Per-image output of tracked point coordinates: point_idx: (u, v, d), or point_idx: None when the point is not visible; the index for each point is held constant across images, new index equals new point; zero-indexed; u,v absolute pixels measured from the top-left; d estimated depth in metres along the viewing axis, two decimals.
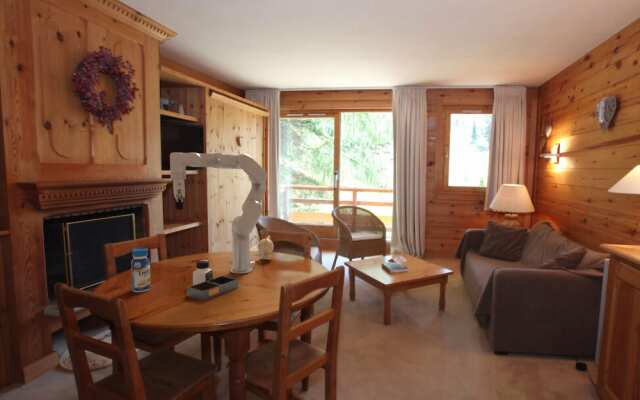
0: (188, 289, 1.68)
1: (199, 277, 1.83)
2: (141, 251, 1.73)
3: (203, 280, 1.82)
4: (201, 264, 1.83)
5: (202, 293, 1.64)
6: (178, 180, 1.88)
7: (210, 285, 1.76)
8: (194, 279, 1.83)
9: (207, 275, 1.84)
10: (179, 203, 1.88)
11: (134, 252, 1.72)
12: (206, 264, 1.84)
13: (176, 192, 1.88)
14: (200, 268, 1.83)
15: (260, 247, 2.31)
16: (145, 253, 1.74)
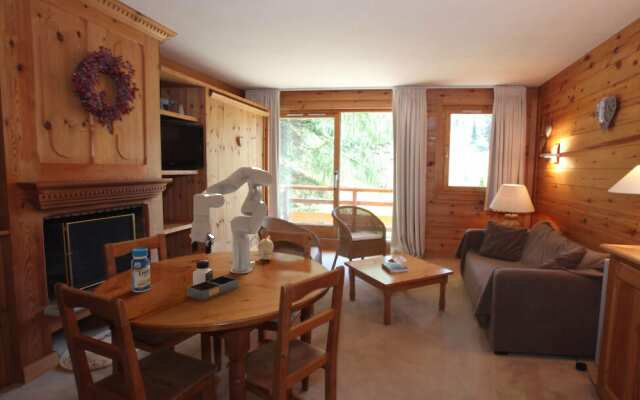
0: (188, 289, 1.68)
1: (199, 276, 1.83)
2: (141, 251, 1.73)
3: (203, 280, 1.82)
4: (201, 264, 1.83)
5: (202, 293, 1.64)
6: None
7: (210, 285, 1.76)
8: (194, 279, 1.83)
9: (207, 275, 1.84)
10: None
11: (134, 252, 1.72)
12: (206, 264, 1.84)
13: None
14: (200, 268, 1.83)
15: (260, 247, 2.31)
16: (145, 253, 1.74)
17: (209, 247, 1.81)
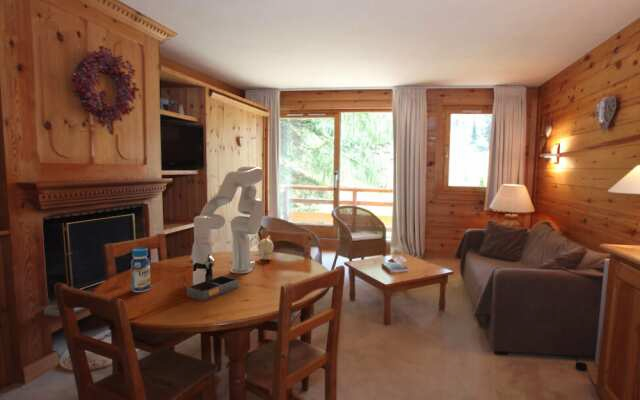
0: (188, 289, 1.68)
1: (199, 277, 1.83)
2: (141, 251, 1.73)
3: (203, 280, 1.82)
4: (201, 264, 1.83)
5: (202, 293, 1.64)
6: None
7: (210, 285, 1.76)
8: (194, 279, 1.83)
9: None
10: None
11: (134, 252, 1.72)
12: None
13: None
14: (200, 268, 1.83)
15: (260, 247, 2.31)
16: (145, 253, 1.74)
17: (210, 269, 1.83)
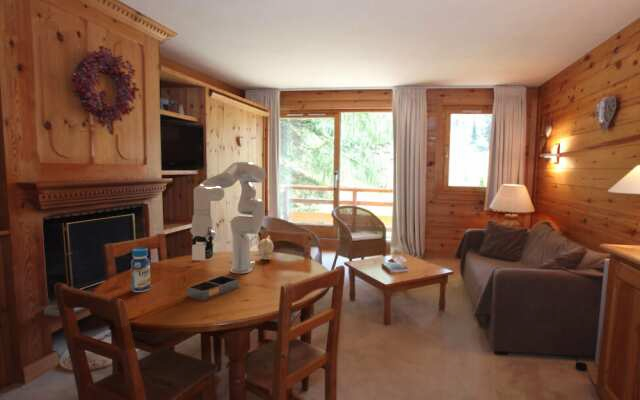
0: (188, 289, 1.68)
1: (198, 250, 1.73)
2: (141, 251, 1.73)
3: (203, 254, 1.73)
4: (201, 237, 1.73)
5: (202, 293, 1.64)
6: None
7: (210, 285, 1.76)
8: (193, 253, 1.74)
9: None
10: None
11: (134, 252, 1.72)
12: None
13: None
14: (200, 241, 1.73)
15: (260, 247, 2.31)
16: (145, 253, 1.74)
17: (210, 242, 1.73)
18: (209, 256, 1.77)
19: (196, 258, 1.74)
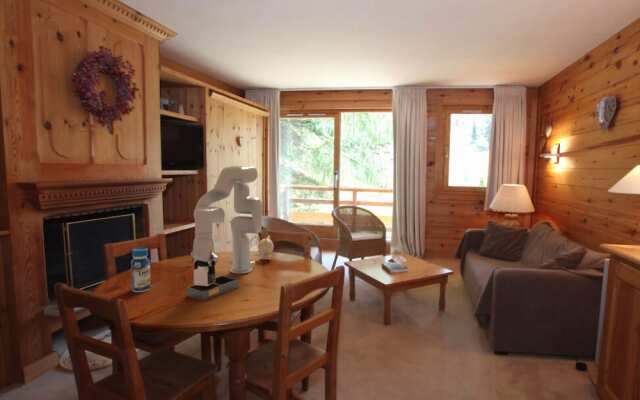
0: (188, 289, 1.68)
1: (200, 275, 1.67)
2: (141, 251, 1.73)
3: (205, 279, 1.67)
4: (203, 261, 1.67)
5: (202, 293, 1.64)
6: None
7: (210, 285, 1.76)
8: (195, 278, 1.68)
9: None
10: None
11: (134, 252, 1.72)
12: None
13: None
14: (202, 266, 1.67)
15: (260, 247, 2.31)
16: (145, 253, 1.74)
17: (212, 267, 1.67)
18: (212, 280, 1.70)
19: (198, 283, 1.68)
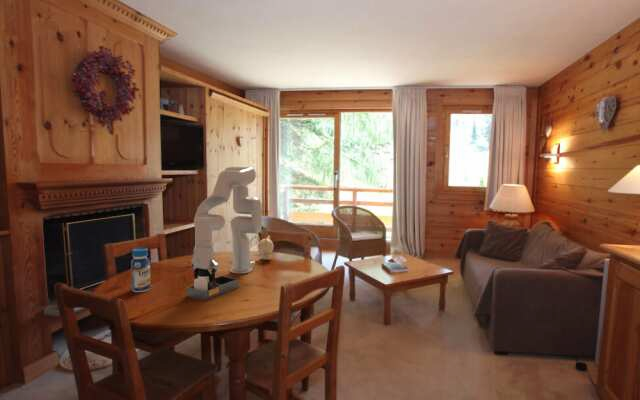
0: (188, 289, 1.68)
1: (200, 285, 1.67)
2: (141, 251, 1.73)
3: (205, 289, 1.67)
4: (203, 271, 1.67)
5: (202, 293, 1.64)
6: None
7: None
8: (195, 288, 1.68)
9: (209, 283, 1.68)
10: None
11: (134, 252, 1.72)
12: (208, 271, 1.69)
13: None
14: (202, 276, 1.68)
15: (260, 247, 2.31)
16: (145, 253, 1.74)
17: (213, 274, 1.67)
18: None
19: None
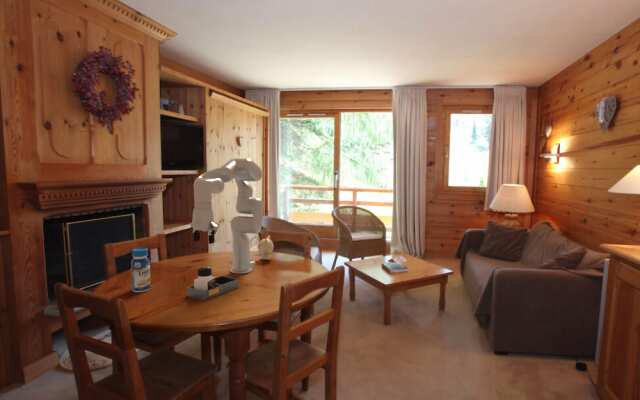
0: (188, 289, 1.68)
1: (200, 285, 1.67)
2: (141, 251, 1.73)
3: (205, 289, 1.67)
4: (203, 271, 1.67)
5: (202, 293, 1.64)
6: None
7: None
8: (195, 288, 1.68)
9: (209, 283, 1.68)
10: None
11: (134, 252, 1.72)
12: (208, 271, 1.69)
13: None
14: (202, 276, 1.68)
15: (260, 247, 2.31)
16: (145, 253, 1.74)
17: (212, 236, 1.68)
18: None
19: None
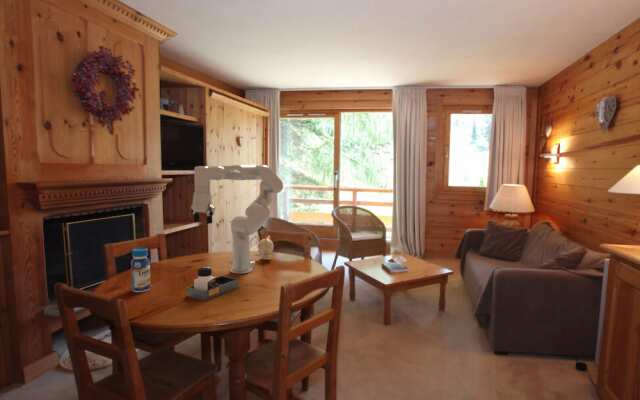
0: (188, 289, 1.68)
1: (200, 285, 1.67)
2: (141, 251, 1.73)
3: (205, 289, 1.67)
4: (203, 271, 1.67)
5: (202, 293, 1.64)
6: None
7: None
8: (195, 288, 1.68)
9: (209, 283, 1.68)
10: None
11: (134, 252, 1.72)
12: (208, 271, 1.69)
13: None
14: (202, 276, 1.68)
15: (260, 247, 2.31)
16: (145, 253, 1.74)
17: (210, 217, 1.89)
18: None
19: None
